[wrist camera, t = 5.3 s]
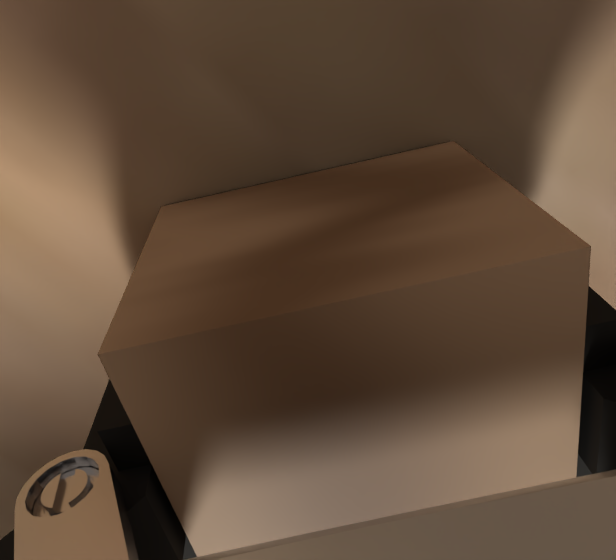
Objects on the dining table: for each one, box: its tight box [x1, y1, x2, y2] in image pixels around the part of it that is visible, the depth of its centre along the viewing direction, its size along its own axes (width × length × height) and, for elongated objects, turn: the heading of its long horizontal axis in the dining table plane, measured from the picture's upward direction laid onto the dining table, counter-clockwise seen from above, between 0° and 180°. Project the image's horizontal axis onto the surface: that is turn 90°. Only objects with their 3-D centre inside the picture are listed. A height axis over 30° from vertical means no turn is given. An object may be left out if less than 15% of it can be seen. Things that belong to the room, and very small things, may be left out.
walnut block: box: [98, 141, 591, 557], centre depth 10 cm, size 6×6×5 cm
